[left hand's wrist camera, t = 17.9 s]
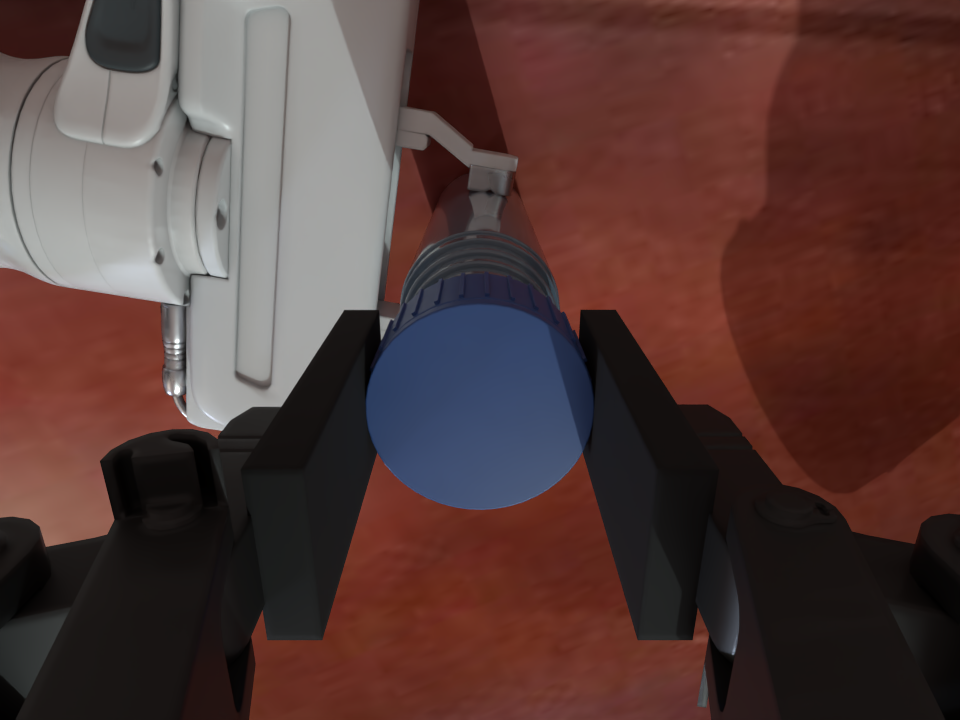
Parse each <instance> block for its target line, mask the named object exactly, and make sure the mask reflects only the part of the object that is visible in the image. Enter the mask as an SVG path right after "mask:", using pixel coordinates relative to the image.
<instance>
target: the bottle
mask: <svg viewBox="0 0 960 720" xmlns="http://www.w3.org/2000/svg"><path fill="white" fill-rule="evenodd" d="M468 179H469V173H467V174H465V175H462V176H460V177H458V178H456V179H455V180H454V181H452V182H451V183H450V184H449V185H448V186H447V187H446V188H445V189H444V191H443V192H442V194H441V196H440V198H439V200H438V203H437V205H436V207H435V210H434V212H433V215H432V217H431V219H430V222H429V224H428V227H427V229H426V231H425V234H424V236H423V239H422V241H421V243H420V246H419V248H418V251H417V253H416V255H415V258H414V260H413V263H412V265H411V267H410V270H409V272H408V275H407V277H406V279H405V282H404V286H403V289H402V294H401V301H400V309H401V306H402V304H403V303H404V302H405V303H406V304H407V303H408V302H409V301H410V300H411V299H412V298H413V297H414V296H416V295H417V294H418V291H419V290H420V289H421V288H422V289H423V290H424V289H426V288H428V287H430V286H432V285H434V284H436V283H437V282H438V281H439V279H441V278H443V280H446V279H449V278H452V277H456V276H461V273H465V275H468V274H484V272H489V274H493V275H498V276H504V277H507V276H508V275H510V276H511V277H512V279H514V280H517V281H520V282H522V283H524V284H526V285H529V283H530V284H532V285H533V288H534V289H535V290H537V291H538V292H540V293H542V294H543V295H544V296H545V297H546V298H547V296H549V297H550V298H551V300H552V302H553V304H554V305H555V306H556V307H557V308H558V310H559V311H560V305H559V295H558V289H557V286H556V283H555V280H554V277H553V275H552V273H551V270H550V268H549V265H548V263H547V261H546V258H545V256H544V253H543V251H542V249H541V246H540V244H539V241H538V239H537V237H536V234H535V232H534V229H533V227H532V225H531V222H530V220H529V217H528V215H527V213H526V210H525V208H524V205H523V203H522V201H521V198H520V196H519V194H518V193H517V191H516V190H515V188H514V187H513V189H512V194H511V196H501V195H497V194H494V193H493V192H492V191H491V190H488V191H486V192H478V191H472V190H467V187H468Z"/></svg>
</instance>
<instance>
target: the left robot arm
mask: <svg viewBox="0 0 960 720" xmlns="http://www.w3.org/2000/svg"><path fill="white" fill-rule="evenodd" d="M380 342H381V331H380V314H379V310H344V311H343V313H342V314H341V316H340V317H339V319H338V320H337V322H336V323H335V325H334V327H333V328H332V330H331V331H330V333H329V334H328V336H327V337H326V339H325V340H324V342H323V343H322V345H321V347H320V348H319V350H318V351H317V353H316V354H315V356H314V357H313V359H312V360H311V362H310V363H309V365H308V366H307V368H306V370H305V371H304V373H303V374H302V376H301V377H300V379H299V380H298V382H297V383H296V385H295V386H294V388H293V390H292V391H291V393H290V394H289V396H288V397H287V399H286V400H285V402H284V403H283V405H282V406H281V407H251V408H250V409H248V410H246V411H245V412H243V413H241V414H240V415H238V416H237V417H235V418H233V419H232V420H230V421H229V423H228V424H227V425H226V426H225V428H224V429H223V430H222V432H221V433H220V434H219V435H218V439H216V438H215V437H214V436H212V435H211V434H209V433H208V432H203V431H198V430H194V429H172V430H166V431H160V432H155V433H149V434H146V435H143V436H140V437H137V438H134V439H131V440H129V441H127V442H125V443H123V444H121V445H119V446H118V447H116V448H114V449H112V450H111V451H110V452H109V453H108V454H107V455H106V456H105V457H104V458H103V459H102V460H101V461H100V463H101V467H102V471H103V475H104V479H105V483H106V487H107V491H108V495H109V499H110V503H111V507H112V511H113V515H114V519H115V520H114V522H113V524H112V526H111V528H110V530H109V532H108V534H107V535H104V536H100V537H96V538H91V539H86V540H81V541H75V542H70V543H65V544H59V545H54V546H49V547H45V543H44V540H43V537H42V533H41V530H40V527H39V526H38V525H37V524H35V523H34V522H33V521H31V520H30V519H24V518H17V517H4V518H0V720H249V714H250V706H251V697H252V689H253V681H254V672H255V657H254V651H253V645H252V639H251V635H252V633H253V631H254V628H255V626H256V624H257V621H258V619H259V617H260V614H261V612H262V610H263V615H264V621H265V628H266V634H267V640H322V639H323V635H324V632H325V629H326V625H327V622H328V618H329V615H330V612H331V608H332V605H333V601H334V598H335V595H336V591H337V588H338V584H339V581H340V577H341V574H342V571H343V567H344V564H345V560H346V557H347V554H348V550H349V547H350V543H351V540H352V536H353V533H354V530H355V526H356V523H357V519H358V516H359V513H360V509H361V506H362V502H363V499H364V496H365V492H366V489H367V485H368V482H369V478H370V475H371V472H372V468H373V465H374V461H375V458H376V455H377V451H376V448H375V446H374V444H373V442H372V440H371V437H370V434H369V430H368V427H367V419H366V404H365V399H366V391H367V385H368V382H369V378H370V375H371V371H369V369H370V366H371V364H372V362H373V359H374V357H375V354H376V352H377V349H378V347H379V345H380ZM579 342H580V344H581V347H582V349H583V351H584V354H585V356H586V359H587V362H585V364H586V366H587V369H588V371H589V374H590V376H591V379H592V386H593V392H594V418H593V426H592V429H591V433H590V437H589V439H588V442H587V444H586V446H585V449H584V450H583V455H584V458H585V462H586V465H587V468H588V472H589V475H590V479H591V482H592V485H593V489H594V492H595V496H596V499H597V502H598V506H599V509H600V513H601V516H602V520H603V523H604V526H605V530H606V533H607V537H608V540H609V543H610V547H611V550H612V554H613V557H614V561H615V564H616V567H617V571H618V574H619V578H620V581H621V584H622V588H623V591H624V595H625V598H626V601H627V605H628V608H629V612H630V615H631V619H632V622H633V625H634V629H635V632H636V636H637V639H638V640H693V634H694V627H695V621H696V615H697V608H698V609H699V611H700V613H701V616H702V618H703V620H704V623H705V625H706V627H707V630H708V632H709V639H708V645H707V651H706V657H705V663H704V668H703V674H702V680H701V686H700V692H699V698H698V705H697V706H700V707H705V708H706V705H707V700H708V696H709V704H710V713H711V720H960V515H957V514H943V515H937V516H931V517H930V518H928V519H927V520H926V521H924V522H923V523H922V524H921V527H920V530H919V533H918V537H917V540H916V543H915V544H911V543H906V542H900V541H895V540H890V539H884V538H879V537H874V536H868V535H864V534H860V533H856V532H852V531H851V529H850V527H849V525H848V523H847V521H846V519H845V518H844V517H843V515H842V514H841V513H840V512H839V511H838V509H837V508H836V507H835V506H833V505H832V504H830V503H829V502H827V501H826V500H824V499H822V498H821V497H819V496H817V495H815V494H812V493H810V492H807V491H805V490H802V489H799V488H796V487H791V486H786V485H782V483H781V482H780V481H779V480H778V478H777V477H776V476H775V475H774V473H773V472H772V471H771V469H770V468H769V467H768V466H767V464H766V463H765V462H764V461H763V459H762V458H761V457H760V456H759V454H758V453H757V452H756V450H752V445H751V444H750V443H749V442H748V440H747V439H746V438H745V437H742V433H741V431H740V430H739V429H738V428H737V426H736V425H735V424H734V423H733V421H732V420H731V419H730V418H729V417H727V416H726V415H724V414H722V413H721V412H719V411H717V410H716V409H714V408H712V407H711V406H709V405H677V403H676V402H675V400H674V399H673V397H672V396H671V394H670V393H669V391H668V390H667V388H666V387H665V385H664V383H663V382H662V380H661V379H660V377H659V376H658V374H657V373H656V371H655V370H654V368H653V367H652V365H651V363H650V362H649V360H648V359H647V357H646V356H645V354H644V353H643V351H642V350H641V348H640V347H639V345H638V344H637V342H636V340H635V339H634V337H633V336H632V334H631V333H630V331H629V330H628V328H627V327H626V325H625V324H624V322H623V320H622V319H621V317H620V316H619V314H618V313H617V311H616V310H581V314H580V330H579Z"/></svg>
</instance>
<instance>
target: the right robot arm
mask: <svg viewBox="0 0 960 720" xmlns="http://www.w3.org/2000/svg"><path fill="white" fill-rule="evenodd" d="M419 1H420V0H86V2H85V5H84V9H83V13H82V16H81V20H80V24H79V27H78V30H77V34H76V37H75V40H74V44H73V47H72V50H71V53H70V56H54V57H46V58H39V59H22V58H16V57H12V56H8V55H6V54H3V53H1V52H0V268H11V269H16V270H19V271H23V272H25V273H27V274H29V275H31V276H33V277H35V278H38V279H40V280H43V281H45V282H47V283H50V284H54V285H57V286H63V287H68V288H75V289H81V290H88V291H94V292H101V293H107V294H113V295H120V296H126V297H131V298H137V299H144V300H150V301H157V302H161V331H162V339H163V340H162V341H163V345H164V356H165V357H164V365H163V368H162V382H163V387H164V390H165V393H166V394H168V395H170V396H173V399H174V402H175V404H176V406H177V408H178V409H179V410H180V412H181V413H182V414H183V415H184V416H185V417H186V418H187V420H188V421H189V422H190V423H192V424H194V425H196V426H199V427H202V428H208V429H214V430H221V431H222V430H223V429H224V428H225V426H226V425H227V424H228V423H229V421H230V420H232V419H233V418H235V417H237V416H238V415H240V414H241V413H243V412H245V411H246V410H248V409H250V408H251V407H281V406H282V405H283V403H284V402H285V400H286V399H287V397H288V396H289V394H290V393H291V391H292V390H293V388H294V386H295V385H296V383H297V382H298V380H299V379H300V377H301V376H302V374H303V373H304V371H305V370H306V368H307V366H308V365H309V363H310V362H311V360H312V359H313V357H314V356H315V354H316V353H317V351H318V350H319V348H320V347H321V345H322V343H323V342H324V340H325V339H326V337H327V336H328V334H329V333H330V331H331V330H332V328H333V327H334V325H335V323H336V322H337V320H338V319H339V317H340V316H341V314H342V313H343V311H344V310H379V314H380V331H381V340H382V339H383V336H384V334H385V331H386V329H387V326H388V324H389V322H390V320H393V321H394V319H395V317H396V316H397V314H398V313H399V311H400V304H398V303H392V302H386V301H384V298H385V290H386V281H387V273H388V264H389V256H390V247H391V239H392V230H393V222H394V213H395V205H396V196H397V188H398V179H399V171H400V162H401V154H402V147H405V148H411V149H417V150H424V149H426V148H427V147H428V146H429V145H430V144H431V137H432V138H434V139H435V140H436V141H437V142H438V143H440V144H441V145H442V146H443V147H444V148H446V149H447V150H448V151H449V152H450V153H452V154H453V155H454V156H455V157H456V158H458V159H459V160H460V161H461V162H462V163H464V164H465V165H466V166H467V167H468V168H469V167H470V172H469V179H468V187H467V190H472V191H478V192H486V191H488V190H491V191H492V192H493V193H494V194H497V195H501V196H511V194H512V189H513V184H514V179H515V174H516V168H517V163H518V157H517V156H514V155H510V154H505V153H500V152H494V151H489V150H483V149H477V148H473V144H472V143H471V142H470V141H469V140H468V139H466V138H465V137H464V136H463V135H462V134H461V133H459V132H458V131H457V130H456V129H455V128H454V127H452V126H451V125H450V124H449V123H448V122H447V121H445V120H444V119H443V118H442V117H441V116H440V115H439V114H437V113H436V112H434V111H428V110H423V109H417V108H412V107H407V103H408V94H409V86H410V77H411V69H412V60H413V52H414V43H415V35H416V26H417V18H418V9H419ZM470 164H471V165H470ZM185 394H186V402H185V401H184V398H183V395H185Z"/></svg>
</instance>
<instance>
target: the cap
mask: <svg viewBox="0 0 960 720" xmlns="http://www.w3.org/2000/svg"><path fill="white" fill-rule="evenodd" d="M585 362H587V359H586V356H585V354H584V351H583V349H582V347H581V344H580V342H579V339H578V337H577V335H576V332H575V330H573V331H572V329H571V326H570V324H569V321H568V319H567V317H566V314H565V313H564V312H562V313H561V312H560V311H559V310H558V308H557V307H556V306H555V305H554V304H553V302H552V300H551V298H550V297H549V296H547V298H546V297H545V296H544V295H543V294H542V293H540V292H538V291H537V290H535V289H534V288H533V285H532V284H530V283H529V285H526V284H524V283H522V282H520V281H517V280H514V279H512V277H511V276H510V275H508V276H507V277H504V276H498V275H493V274H489V272H484V274H468V275H465V273H461V276H456V277H452V278H449V279H446V280H443V278H441V279H439V281H438V282H437V283H436V284H434V285H432V286H430V287H428V288H426V289H424V290H423V289H422V288H421V289H420V290H419V291H418V294H417V295H416V296H414V297H413V298H412V299H411V300H410V301H409V302H408V303H407V304H406V303H405V302H404V303H403V304H402V306H401V309H400V311H399V313H398V314H397V316H396V317H395V319H394V321H393V320H390V322H389V324H388V326H387V329H386V331H385V334H384V336H383V339H382V340H381V342H380V345H379V347H378V349H377V352H376V354H375V357H374V359H373V362H372V364H371V366H370V369H369V371H371V375H370V378H369V382H368V385H367V391H366V399H365V404H366V419H367V427H368V430H369V434H370V437H371V440H372V442H373V444H374V446H375V448H376V451H377V453H378V454H379V456H380V457H381V459H382V460H383V462H384V463H385V465H386V466H387V467H388V468H389V469H390V471H391V472H392V473H393V474H394V475H395V476H396V477H397V478H398V479H399V480H400V481H402V482H403V483H404V484H405V485H407V486H408V487H409V488H411V489H412V490H414V491H415V492H417V493H419V494H421V495H423V496H424V497H426V498H428V499H431V500H433V501H436V502H438V503H441V504H445V505H449V506H452V507H458V508H464V509H480V510H483V509H497V508H502V507H507V506H512V505H515V504H518V503H521V502H524V501H527V500H529V499H531V498H533V497H536V496H538V495H539V494H541V493H543V492H544V491H546V490H548V489H549V488H551V487H552V486H553V485H555V484H556V483H557V482H558V481H560V480H561V479H562V478H563V477H564V476H565V475H566V474H567V473H568V472H569V471H570V469H571V468H572V467H573V466H574V464H575V463H576V462H577V460H578V459H579V457H580V455H581V454H582V452H583V450H584V449H585V446H586V444H587V442H588V439H589V437H590V433H591V429H592V426H593V418H594V392H593V386H592V379H591V376H590V374H589V371H588V369H587V366H586V364H585Z"/></svg>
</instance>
